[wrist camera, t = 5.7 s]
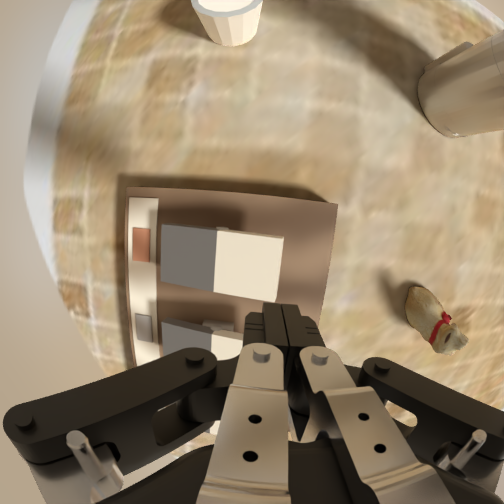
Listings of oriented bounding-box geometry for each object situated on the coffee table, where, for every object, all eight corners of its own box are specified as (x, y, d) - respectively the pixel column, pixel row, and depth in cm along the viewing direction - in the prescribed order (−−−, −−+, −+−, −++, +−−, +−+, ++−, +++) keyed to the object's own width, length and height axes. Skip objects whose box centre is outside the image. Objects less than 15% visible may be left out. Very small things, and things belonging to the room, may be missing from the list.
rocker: (171, 221, 24) (161, 223, 22) (284, 234, 22) (282, 237, 20) (169, 277, 25) (160, 282, 23) (277, 296, 23) (274, 303, 21)
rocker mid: (169, 314, 25) (161, 320, 24) (271, 335, 24) (268, 344, 22) (171, 357, 26) (164, 365, 25) (264, 379, 25) (261, 389, 23)
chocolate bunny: (402, 341, 31) (439, 385, 21) (404, 287, 29) (451, 322, 19) (434, 330, 30) (474, 366, 21) (438, 277, 29) (488, 306, 19)
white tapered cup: (265, 48, 23) (267, 14, 17) (202, 53, 24) (188, 21, 17) (260, 7, 22) (261, -28, 15) (202, 12, 22) (191, -22, 15)
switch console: (138, 187, 27) (119, 186, 22) (329, 202, 27) (343, 204, 22) (149, 400, 33) (139, 421, 28) (288, 416, 33) (291, 439, 29)
